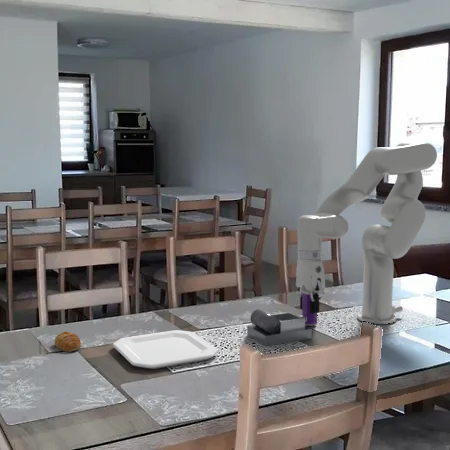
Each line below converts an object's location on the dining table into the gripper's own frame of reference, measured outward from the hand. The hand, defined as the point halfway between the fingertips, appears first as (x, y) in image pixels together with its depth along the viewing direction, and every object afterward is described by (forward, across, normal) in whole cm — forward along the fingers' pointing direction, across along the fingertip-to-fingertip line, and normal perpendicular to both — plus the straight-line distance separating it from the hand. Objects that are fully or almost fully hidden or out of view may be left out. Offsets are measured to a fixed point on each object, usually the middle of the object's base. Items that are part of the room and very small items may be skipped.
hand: (309, 310), depth 196 cm
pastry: (+3, +13, +74) cm, 75 cm away
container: (+5, 0, 0) cm, 5 cm away
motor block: (+5, -6, +15) cm, 17 cm away
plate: (+4, -4, +51) cm, 51 cm away
